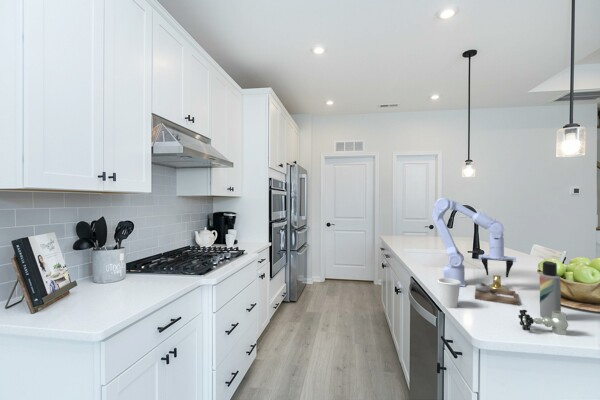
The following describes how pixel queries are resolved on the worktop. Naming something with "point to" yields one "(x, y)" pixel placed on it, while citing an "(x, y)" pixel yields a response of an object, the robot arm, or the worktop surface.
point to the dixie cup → (449, 292)
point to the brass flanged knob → (497, 283)
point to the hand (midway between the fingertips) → (497, 275)
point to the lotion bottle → (549, 290)
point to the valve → (546, 321)
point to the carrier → (485, 294)
